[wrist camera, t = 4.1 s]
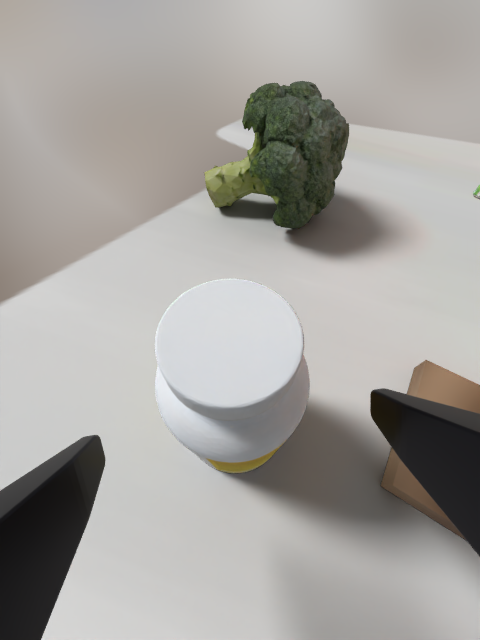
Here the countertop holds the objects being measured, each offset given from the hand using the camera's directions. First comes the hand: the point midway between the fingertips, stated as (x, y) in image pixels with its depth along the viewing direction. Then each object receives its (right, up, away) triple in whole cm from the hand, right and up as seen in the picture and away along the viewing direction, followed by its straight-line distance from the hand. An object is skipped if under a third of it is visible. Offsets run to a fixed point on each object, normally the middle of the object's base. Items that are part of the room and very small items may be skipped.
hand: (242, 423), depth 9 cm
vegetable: (+3, +16, +22) cm, 28 cm away
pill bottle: (0, -4, +9) cm, 10 cm away
